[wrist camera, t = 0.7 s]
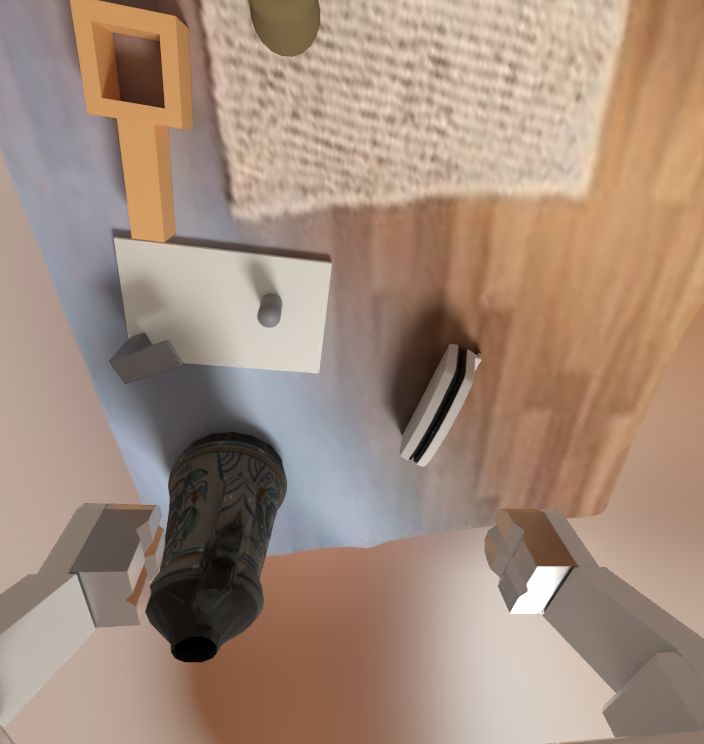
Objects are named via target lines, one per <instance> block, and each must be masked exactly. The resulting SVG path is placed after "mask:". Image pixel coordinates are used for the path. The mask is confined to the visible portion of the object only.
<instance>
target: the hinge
mask: <svg viewBox="0 0 704 744" xmlns="http://www.w3.org/2000/svg"><path fill="white" fill-rule="evenodd" d="M481 359H482V356H481V354H480V353H478V354H477V355H476V354H475V353H473V352H471V351H470V350H468V349H467V351H463V352H462V354H461V356H460V349H459V348H458V345H455V344H449V346H448V347H447V349H446V351H445V353H444V355H443V357H442V359H441V361H440V363H439V365H438V367H437V369H436V371H435V373H434V375H433V377H432V379H431V381H430V383H429V385H428V386H427V388H426V390H425V392H424V394H423V396H422V398H421V400H420V402H419V404H418V406H417V408H416V410H415V412H414V414H413V416H412V418H411V420H410V422H409V424H408V425H407V427H406V429H405V431H404V433H403V435H402V441H401V449H400V456H401V457H403V458H404V459H406V460H408V459H410V460H411V459H412V458H413V457H414V462H416V465H420V466H424V467H425V466H426V465H427V463H428V462H429V461H430V459H431V458H432V457H433V455H434V454H435V452H436V451H437V449H438V448H439V446H440V445H441V443H442V441H443V440H444V438H445V437H446V435H447V433H448V431H449V429H450V428H451V426H452V424H453V422H454V420H455V419H456V417H457V415H458V413H459V411H460V409H461V407H462V405H463V403H464V401H465V399H466V397H467V395H468V393H469V390H470V388H471V386H472V384H473V381H474V374H475V370H476V368H477V367H478V365H479V363H480V361H481Z"/></svg>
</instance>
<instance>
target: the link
mask: <svg viewBox="0 0 704 744" xmlns="http://www.w3.org/2000/svg"><path fill="white" fill-rule="evenodd" d="M70 4H71V11H72V17H73V23H74V30H75V36H76V43H77V49H78V56H79V62H80V69H81V75H82V82H83V88H84V95H85V101H86V107H87V114H94V115H100V116H106V117H112V118H117V124H118V132H119V140H120V148H121V156H122V164H123V172H124V180H125V188H126V196H127V204H128V212H129V220H130V228H131V236H132V238H133V239H142V240H150V241H159V242H165V241H167V240H168V239H169V238H171V237H172V236H174V235H175V234H176V231H175V217H174V204H173V190H172V176H171V162H170V148H169V134H168V127H174V128H180V129H190V130H193V115H192V93H191V71H190V49H189V28H188V27H187V26H185V25H184V24H183V23H182V22H181V21H180V20H179V19H178V18H177V17H176V16H173V15H168V14H163V13H158V12H153V11H148V10H143V9H139V8H134V7H129V6H124V5H119V4H114V3H109V2H104V1H99V0H70ZM113 33H118V34H123V35H128V36H133V37H139V38H144V39H149V40H154V41H159V42H160V47H161V60H162V74H163V88H164V101H165V108H159V107H153V106H147V105H141V104H135V103H129V102H123V101H121V100H120V91H119V83H118V74H117V66H116V58H115V49H114V41H113Z"/></svg>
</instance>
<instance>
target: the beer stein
mask: <svg viewBox="0 0 704 744" xmlns="http://www.w3.org/2000/svg"><path fill="white" fill-rule="evenodd" d="M168 488H169V495H170V504H169V515H168V522H167V529H166V535H165V547H164V553H163V558H162V562H161V566H160V572H159V574H158V575H157V576H156V577H155V578H154V580H153V582H152V583H151V585H150V589H151V595H150V598H149V601H148V604H147V607H146V610H145V613H146V615H147V617H148V619H149V621H150V623H151V624H152V625H153V626H154V627H155V628H156V629H157V630H158V631H159V632H160V634H161V635H162V636H163V637H164V638H165V639H166V640H167V641H168V642H169V643H170V644H171V653H172V654H173V656H174V657H175V658H176V659H178V660H180V661H183V662H204V661H206V660H209V659H212V658H213V657H214V656H215V655H216V653H217V652H218V650H219V648H220V647H221V645H222V644H224V643H225V642H226V641H228V640H230V639H232V638H233V637H235V636H237V635H238V634H240V633H242V632H243V631H245V630H246V629H247V628H248V627H249V626H250V625H251V624H252V623H253V622H254V621H255V620H256V619H257V618H258V616H259V614H260V613H261V610H262V608H263V601H264V599H263V590H262V585H261V583H260V580H259V579H260V574H261V571H262V568H263V564H264V560H265V557H266V552H267V548H268V544H269V541H270V537H271V532H272V528H273V524H274V519H275V516H276V513H277V511H278V509H279V507H280V506H281V504H282V502H283V501H284V498H285V495H286V491H287V480H286V476H285V472H284V469H283V465H282V461H281V458H280V457H279V456H278V454H277V453H276V452H275V451H274V449H273V448H272V447H271V446H270V445H268V444H266V443H265V442H263V441H261V440H259V439H257V438H255V437H253V436H251V435H245V434H240V433H234V432H229V433H218V434H211V435H208V436H206V437H204V438H201V439H199V440H197V441H195V442H193V443H192V444H191V445H190V446H189V447H188V448H187V449H186V450H185V451H184V452H183V454H182V455H181V456H180V458H179V459H178V461H177V462H176V463H175V465H174V466H173V468H172V471H171V473H170V477H169V483H168Z"/></svg>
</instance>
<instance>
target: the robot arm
mask: <svg viewBox="0 0 704 744" xmlns="http://www.w3.org/2000/svg"><path fill="white" fill-rule="evenodd" d="M161 517H162V514H161V509H160V506H157V505H132V504H100V503H99V504H97V503H84V504H83V505H82V506H81V507H79V508H78V509H77V510H76V512H75V514H74V515H73V517H72V519H71V520H70V522H69V523H68V525H67V526H66V528H65V530H64V531H63V533H62V535H61V536H60V538H59V540H58V541H57V543H56V544H55V546H54V547H53V549H52V551H51V553H50V554H49V556H48V558H47V559H46V561H45V562H44V564H43V565H42V567H41V568H40V570H39V572H38V573H37V574H29V575H27V576H26V577H24V578H23V579H21V580H20V581H19V582H17V583H16V584H14V585H13V586H12V587H10V588H9V589H7V590H6V591H5V592H3V593H2V594H0V744H15V743H14V742H13V741H12V739H11V738H10V737H9V735H8V734H7V733H6V731H5V730H4V729H3V728H4V727H5V726H6V725H7V724H8V723H9V721H11V719H12V718H13V717H14V716H15V715H16V714H17V713H18V712H19V711H20V710H21V709H22V708H23V707H24V706H25V705H26V704H27V703H28V701H29V700H30V699H31V698H32V697H33V696H34V695H35V694H36V693H37V692H38V691H39V690H40V689H41V688H42V687H43V686H44V685H45V683H46V682H47V681H48V680H49V679H50V678H51V677H52V676H53V675H54V674H55V673H56V672H57V671H58V670H59V669H60V668H61V666H62V665H63V664H64V663H65V662H66V661H67V660H68V659H69V658H70V657H71V656H72V655H73V654H74V653H75V652H76V651H77V649H78V648H79V647H80V646H81V645H82V644H83V643H84V642H85V641H86V640H87V639H88V638H89V637H90V636H91V635H92V634H93V632H95V628H96V627H113V626H129V625H130V626H131V625H140V624H141V621H142V618H143V615H144V612H145V610H146V607H147V604H148V601H149V598H150V595H151V589H150V584H149V581H150V580H151V579H152V578H153V577H154V576H155V575H156V574H158V571H159V568H160V565H161V562H162V558H163V553H164V547H165V534H164V529H163V528H162V527H160V526H159V522H160V520H161ZM494 520H495V522H496V524H497V525H495V526H494V527H493V528H491V529H490V530H489V531H488V533H487V536H486V538H485V554H486V558H487V561H488V564H489V566H490V568H491V570H492V571H494V572H495V573H496V574H497V575H498V576H499V577H500V580H499V585H498V587H499V589H500V592H501V594H502V596H503V599H504V601H505V603H506V606H507V608H508V610H509V612H510V613H543V617H544V618H545V619H546V620H547V621H548V622H549V623H550V624H551V625H552V626H553V627H554V628H555V629H556V630H557V631H558V632H559V633H560V634H561V635H562V637H564V639H565V640H566V641H567V642H568V643H569V644H570V645H571V646H572V647H573V648H574V649H575V650H576V651H577V652H578V653H579V654H580V655H581V657H582V658H583V659H584V660H585V661H586V662H587V663H588V664H589V665H590V666H591V667H592V668H593V669H594V670H595V671H596V672H597V673H598V674H599V675H600V677H601V678H602V679H603V680H604V681H605V682H606V683H607V684H608V685H609V686H610V687H611V688H612V689H613V690H614V691H615V692H616V694H615V695H614V696H613V697H612V698H611V699H610V700H609V701H608V702H607V703H606V704H605V705H604V709H603V714H604V716H605V718H606V720H607V722H608V724H609V726H610V728H611V730H612V732H613V734H614V736H615V738H607V739H595V740H583V741H572V742H560V743H549V744H704V639H703V638H702V637H701V636H699V635H698V634H697V633H695V632H694V631H692V630H691V629H690V628H688V627H687V626H686V625H684V624H683V623H681V622H680V621H678V620H677V619H676V618H674V617H673V616H672V615H670V614H669V613H668V612H666V611H665V610H663V609H662V608H661V607H659V606H658V605H656V604H655V603H654V602H652V601H651V600H650V599H648V598H647V597H646V596H644V595H643V594H641V593H640V592H638V591H637V590H636V589H634V588H633V587H632V586H630V585H629V584H628V583H626V582H625V581H623V580H622V579H621V578H619V577H618V576H617V575H615V574H614V573H612V572H611V571H610V570H608V569H607V568H606V567H599V566H598V564H597V563H596V561H595V560H594V558H593V557H592V556H591V554H590V553H589V551H588V550H587V548H586V547H585V545H584V544H583V543H582V541H581V540H580V538H579V537H578V535H577V534H576V532H575V531H574V530H573V528H572V526H571V525H570V524H569V522H568V521H567V519H566V518H565V516H564V515H563V514H562V513H561V512H560V511H559V510H557V509H501V510H499V511H498V512H497V513H496V515H495V517H494Z"/></svg>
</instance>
